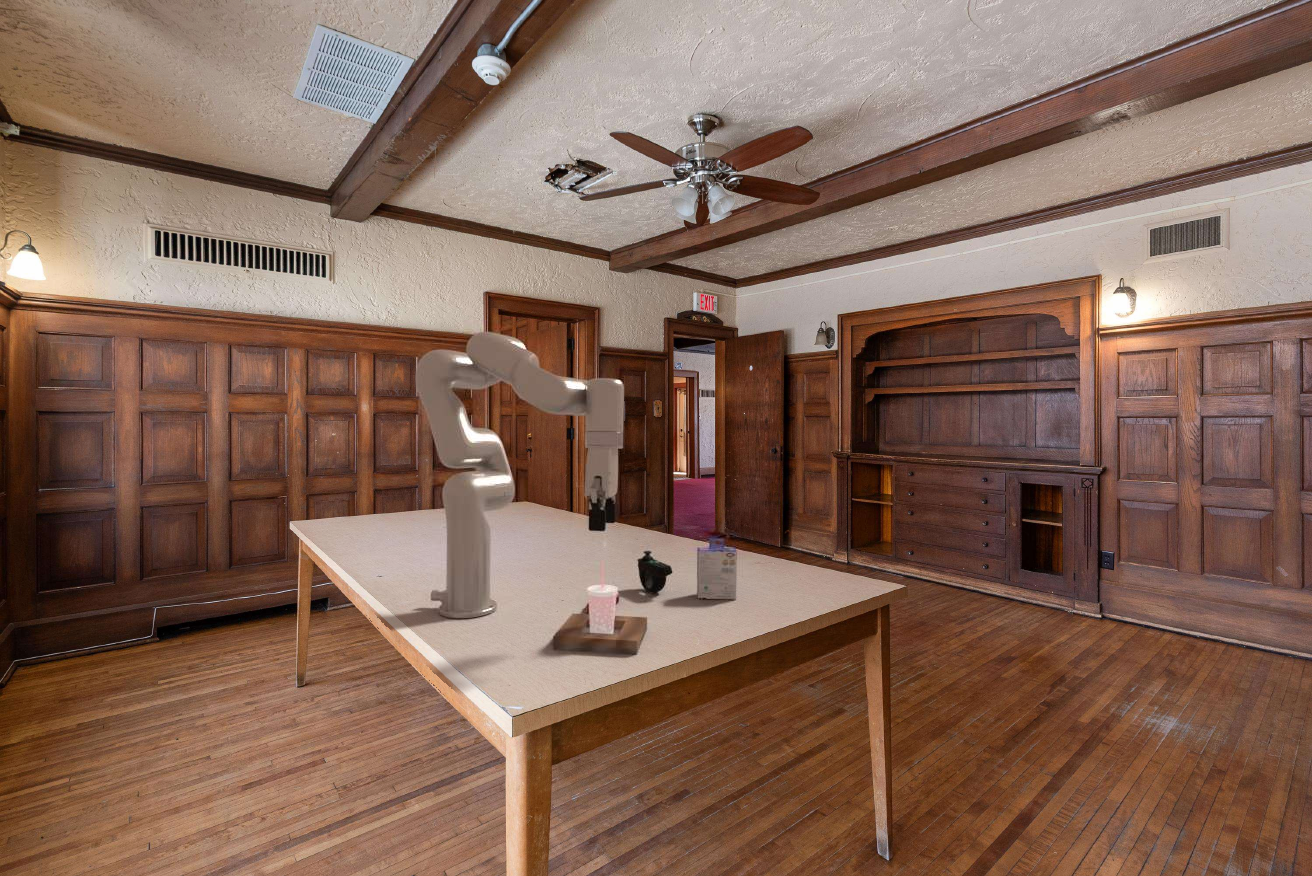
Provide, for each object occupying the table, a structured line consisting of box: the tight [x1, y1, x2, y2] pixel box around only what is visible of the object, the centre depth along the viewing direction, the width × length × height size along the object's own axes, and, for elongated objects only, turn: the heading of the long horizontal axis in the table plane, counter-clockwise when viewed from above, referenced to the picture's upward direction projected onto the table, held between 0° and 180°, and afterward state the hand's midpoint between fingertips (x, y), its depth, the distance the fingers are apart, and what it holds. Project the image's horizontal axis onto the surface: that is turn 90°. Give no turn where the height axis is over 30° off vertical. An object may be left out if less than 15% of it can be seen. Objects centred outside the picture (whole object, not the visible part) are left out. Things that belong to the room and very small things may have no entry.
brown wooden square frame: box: [552, 612, 648, 655], centre depth 116 cm, size 16×14×2 cm
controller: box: [637, 550, 673, 594], centre depth 150 cm, size 4×12×10 cm, turn 32°
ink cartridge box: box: [696, 537, 738, 600], centre depth 148 cm, size 10×6×14 cm, turn 89°
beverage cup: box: [586, 562, 619, 634], centre depth 117 cm, size 6×6×14 cm
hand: (602, 526), depth 117 cm, fingers open, 9 cm apart
